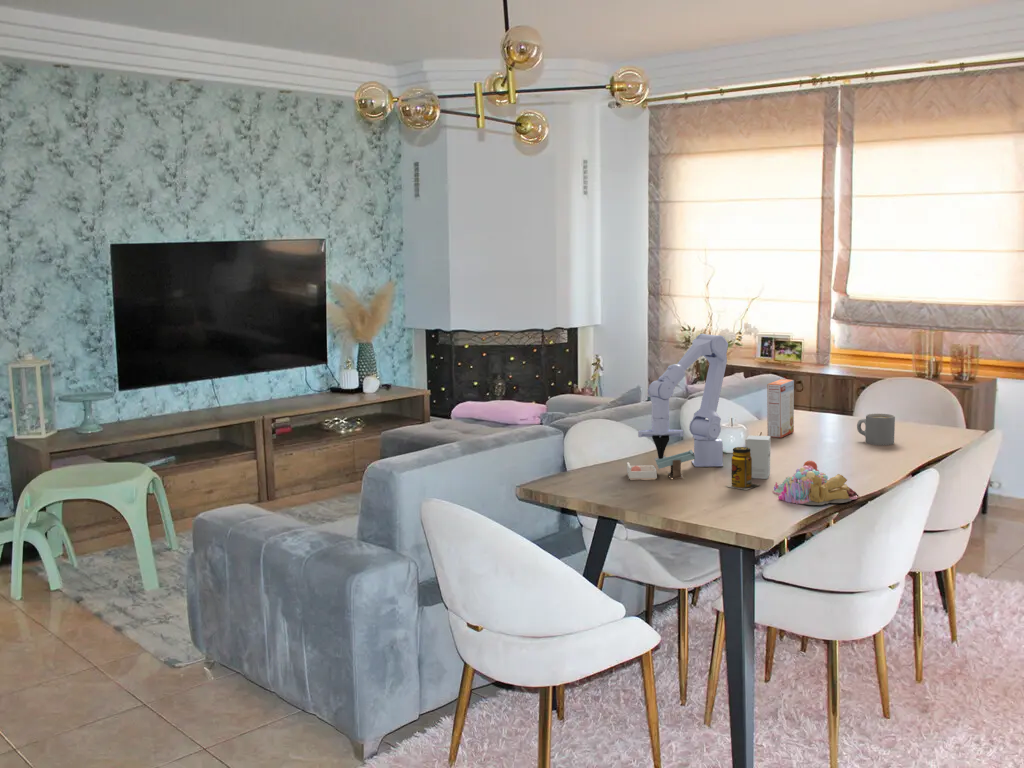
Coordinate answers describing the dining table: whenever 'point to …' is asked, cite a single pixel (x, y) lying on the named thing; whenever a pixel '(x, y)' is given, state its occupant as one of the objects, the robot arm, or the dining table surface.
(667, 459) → the lever
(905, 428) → the dining table surface
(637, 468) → the ball
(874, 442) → the coffee mug
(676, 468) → the fulcrum
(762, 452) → the supplement box
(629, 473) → the dish
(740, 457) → the condiment
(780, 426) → the cracker box
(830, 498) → the candy landscape model
